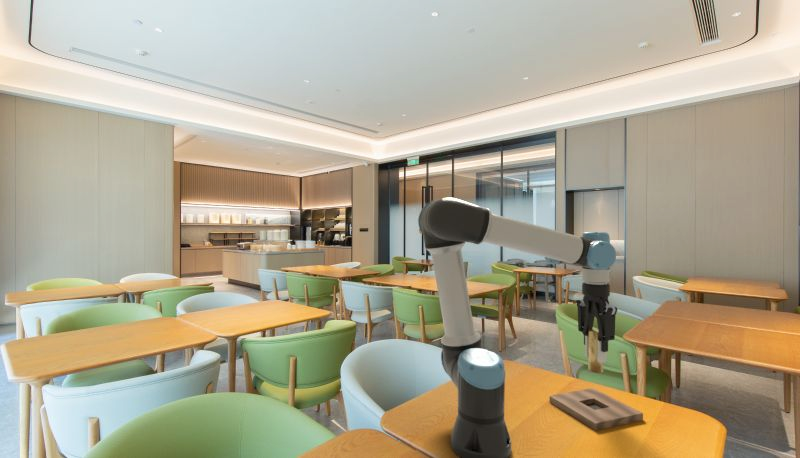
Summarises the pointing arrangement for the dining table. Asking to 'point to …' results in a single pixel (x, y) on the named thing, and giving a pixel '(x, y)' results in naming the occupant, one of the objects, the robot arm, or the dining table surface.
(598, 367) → the pin
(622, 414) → the board
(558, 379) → the dining table surface
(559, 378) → the dining table surface
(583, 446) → the dining table surface
